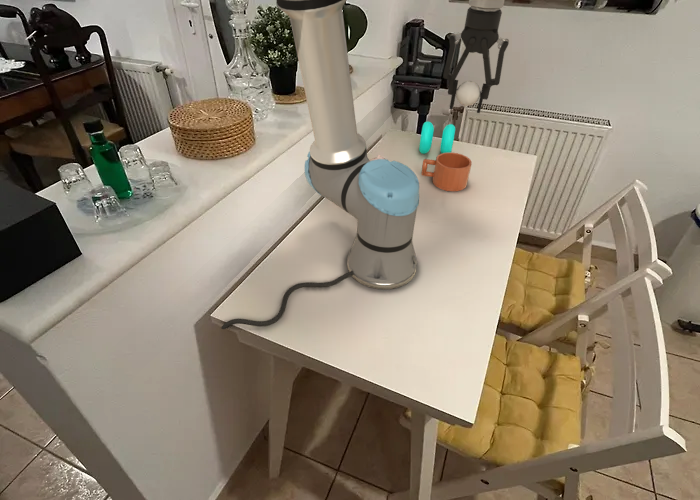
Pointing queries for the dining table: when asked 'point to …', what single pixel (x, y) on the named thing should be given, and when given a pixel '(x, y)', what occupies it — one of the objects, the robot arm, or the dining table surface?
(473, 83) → the lollipop
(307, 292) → the dining table surface
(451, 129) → the donuts
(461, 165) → the mug
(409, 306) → the dining table surface
